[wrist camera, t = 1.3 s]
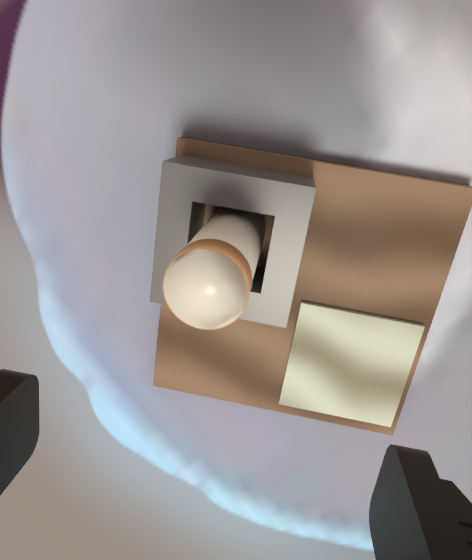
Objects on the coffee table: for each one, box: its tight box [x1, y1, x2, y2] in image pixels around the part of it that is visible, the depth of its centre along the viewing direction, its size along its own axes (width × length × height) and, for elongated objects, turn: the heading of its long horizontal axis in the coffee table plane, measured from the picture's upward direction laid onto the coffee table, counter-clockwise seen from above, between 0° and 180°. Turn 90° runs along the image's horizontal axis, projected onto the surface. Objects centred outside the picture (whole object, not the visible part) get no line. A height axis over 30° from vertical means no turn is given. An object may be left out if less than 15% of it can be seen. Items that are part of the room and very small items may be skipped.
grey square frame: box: [150, 155, 316, 328], centre depth 30 cm, size 9×9×5 cm
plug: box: [162, 206, 266, 330], centre depth 26 cm, size 4×4×12 cm
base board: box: [153, 137, 472, 435], centre depth 34 cm, size 20×20×2 cm
